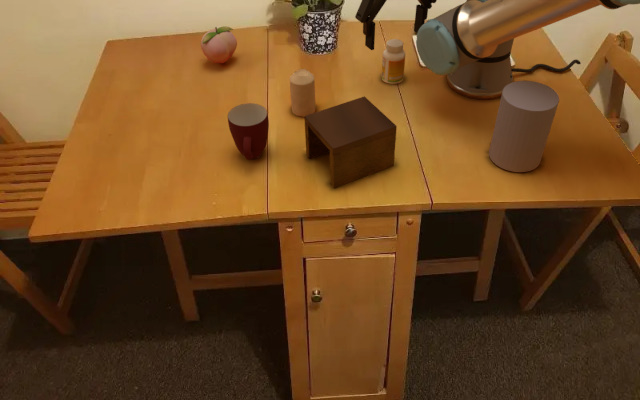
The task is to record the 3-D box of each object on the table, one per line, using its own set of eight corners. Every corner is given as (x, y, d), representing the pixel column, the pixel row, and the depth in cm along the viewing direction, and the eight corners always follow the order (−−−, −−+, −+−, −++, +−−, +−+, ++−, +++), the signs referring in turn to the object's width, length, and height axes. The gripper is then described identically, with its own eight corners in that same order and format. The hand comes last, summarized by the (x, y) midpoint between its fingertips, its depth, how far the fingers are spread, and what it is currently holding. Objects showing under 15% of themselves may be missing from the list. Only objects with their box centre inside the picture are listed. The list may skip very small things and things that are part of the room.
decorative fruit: (221, 50, 155) (215, 15, 148) (244, 59, 152) (239, 23, 145) (196, 66, 150) (189, 30, 143) (219, 75, 146) (213, 38, 139)
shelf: (363, 135, 127) (364, 96, 120) (393, 165, 119) (396, 126, 112) (306, 155, 122) (304, 115, 115) (333, 188, 114) (333, 148, 107)
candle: (312, 118, 132) (311, 79, 125) (289, 115, 133) (286, 77, 126) (317, 104, 136) (316, 66, 129) (294, 102, 137) (292, 64, 130)
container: (484, 141, 124) (497, 80, 113) (533, 141, 123) (551, 80, 113) (493, 173, 116) (508, 111, 106) (545, 173, 116) (565, 111, 106)
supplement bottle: (407, 78, 143) (411, 42, 136) (394, 87, 140) (397, 50, 133) (390, 70, 146) (392, 34, 139) (377, 79, 143) (378, 43, 136)
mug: (274, 171, 119) (270, 131, 112) (234, 175, 118) (227, 136, 111) (270, 139, 126) (266, 101, 119) (233, 143, 126) (226, 105, 119)
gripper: (439, -70, 128) (428, 20, 142) (340, -47, 120) (340, 46, 134) (460, -59, 123) (447, 33, 138) (359, -35, 115) (356, 61, 129)
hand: (394, 40), depth 136 cm, fingers open, 13 cm apart
